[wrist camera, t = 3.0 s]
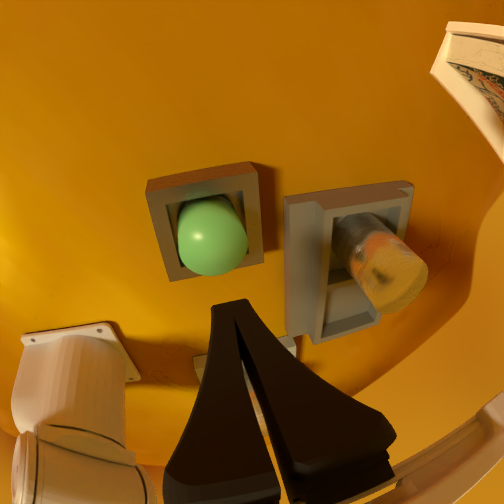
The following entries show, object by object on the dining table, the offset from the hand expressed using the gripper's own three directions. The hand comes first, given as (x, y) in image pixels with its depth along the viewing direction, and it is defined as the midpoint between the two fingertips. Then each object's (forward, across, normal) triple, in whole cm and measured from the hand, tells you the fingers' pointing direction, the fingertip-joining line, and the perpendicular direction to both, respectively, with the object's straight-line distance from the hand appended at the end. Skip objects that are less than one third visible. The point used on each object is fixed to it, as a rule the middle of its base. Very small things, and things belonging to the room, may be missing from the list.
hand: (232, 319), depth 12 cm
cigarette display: (+9, -27, -7) cm, 29 cm away
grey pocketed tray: (+9, -10, +6) cm, 15 cm away
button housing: (+9, 0, 0) cm, 9 cm away
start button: (+8, 0, 0) cm, 8 cm away
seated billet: (+8, -10, +3) cm, 13 cm away
